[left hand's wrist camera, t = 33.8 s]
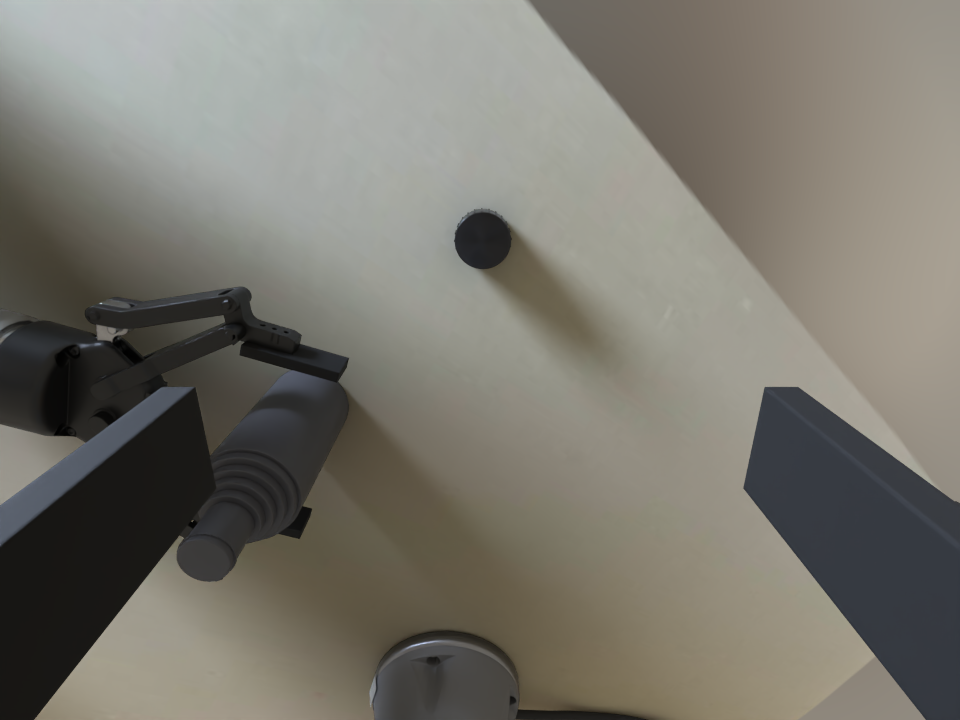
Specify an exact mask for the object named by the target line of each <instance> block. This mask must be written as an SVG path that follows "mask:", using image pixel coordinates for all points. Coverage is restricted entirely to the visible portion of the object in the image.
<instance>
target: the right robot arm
mask: <svg viewBox="0 0 960 720" xmlns="http://www.w3.org/2000/svg"><path fill="white" fill-rule="evenodd" d="M251 298H252V296H251V293H250V291H249V290H248V289H247V288H245V287H235V288H228V289H222V290H215V291H209V292H203V293H196V294H190V295H183V296H177V297H170V298H164V299H158V300H151V301H145V302H141V301H136V300H131V299H125V298H120V297H113V298H111V299H109V300H106V301H103V302H101V303H98V304H96V305H94V306H91V307H89V308H87V309H86V310H85V316H86V319H87V320H88V321H89V322H90V323H92V324H95V325H96V330H97V335H95V334H93V333H90V332H86V331H83V330H79V329H75V328H72V327H68V326H65V325H61V324H58V323H54V322H50V321H40V320H38V319H37V318H34V317H31V316H27V315H24V314H20V313H17V312H13V311H10V310H6V309H2V308H0V424H2V425H6V426H10V427H14V428H18V429H21V430H25V431H29V432H33V433H37V434H41V435H45V436H74V437H77V438H79V439H81V440H83V441H84V442H88V441H89V440H90V439H92V438H93V437H94V436H96V435H97V434H99V433H100V432H101V431H103V430H104V429H105V428H107V427H108V426H109V425H111V424H112V423H114V422H115V421H116V420H118V419H119V418H120V417H122V416H123V415H124V414H126V413H127V412H129V411H130V410H131V409H133V408H134V407H135V406H137V405H138V404H140V403H141V402H142V401H144V400H145V399H146V398H148V397H149V396H150V395H152V394H153V393H155V392H156V391H157V390H159V389H160V388H161V387H167V383H168V382H165V381H164V380H163V378H162V376H161V374H162V373H164V372H167V371H169V370H172V369H174V368H176V367H179V366H181V365H183V364H186V363H188V362H191V361H193V360H195V359H198V358H200V357H202V356H205V355H207V354H210V353H212V352H214V351H217V350H219V349H221V348H224V347H226V346H229V345H231V344H233V345H234V344H236V343H237V342H238V341H244V343H243V344H242V345H241V350H240V355H241V356H244V357H248V358H251V359H255V360H258V361H262V362H265V363H269V364H272V365H276V366H280V367H283V368H287V369H290V370H294V371H297V372H301V373H304V374H308V375H311V376H315V377H318V378H322V379H325V380H329V381H332V382H336V383H337V382H338V380H339V379H340V377H341V376H342V374H343V372H344V371H345V369H346V368H347V364H348V360H349V358H347V357H343V356H340V355H336V354H333V353H329V352H326V351H323V350H319V349H316V348H312V347H309V346H305V345H302V344H300V341H301V336H302V335H301V334H299V333H298V332H296V331H295V330H292V329H288V328H285V327H281V326H278V325H275V324H271V323H268V322H264V321H261V320H259V319H257V318H256V317H255V316H254V315H253V314H252V311H251V307H250V301H251ZM219 315H224V318H225V323H223V324H220V325H218V326H216V327H213V328H211V329H209V330H206V331H204V332H202V333H199V334H197V335H195V336H192V337H190V338H188V339H185V340H183V341H181V342H178V343H176V344H174V345H171V346H167V347H165V348H162V349H160V350H158V351H155V352H153V353H151V354H148V355H146V356H144V357H143V356H142V355H141V354H140V353H139V352H138V351H137V350H136V349H135V348H133V347H132V346H131V345H130V344H129V343H128V342H127V341H126V340H125V339H123V338H121V335H124V334H126V333H128V332H130V331H132V330H134V329H135V328H141V327H148V326H154V325H161V324H167V323H174V322H180V321H187V320H193V319H200V318H206V317H213V316H219ZM311 511H312V509H311V508H307V507H303V506H302V508H301V510H300V512H299V514H298V516H297V517H296V519H295V520H294V521H293V522H292V523H291V524H290V525H289V526H288V527H287V528H285V529H284V530H283V531H281V532H280V533H278V534H282V535H286V536H290V537H294V538H298V539H300V537H301V535H302V533H303V531H304V528H305V526H306V524H307V522H308V520H309V518H310V515H311ZM192 520H194V521H193V522H191V521H190V523H189V524H188V525H187V526H186V528H185V529H184V530H183V531H182V533H181V534H180V536H182V537H183V538H186V537H188V535H189V534H190V533H191V531H192V530H193V529H194V528H195V526H196V525H197V524H198V522H199V521H200V517H199V514H198V512H197V514H196V515H195V516H194V518H193V519H192Z"/></svg>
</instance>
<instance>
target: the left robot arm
mask: <svg viewBox="0 0 960 720" xmlns="http://www.w3.org/2000/svg"><path fill="white" fill-rule="evenodd" d="M215 490H216V483H215V478H214V474H213V469H212V464H211V460H210V455H209V450H208V445H207V441H206V436H205V431H204V426H203V422H202V417H201V412H200V407H199V403H198V398H197V393H196V388H195V387H161V388H160V389H159V390H157V391H156V392H155V393H153V394H152V395H150V396H149V397H148V398H146V399H145V400H144V401H142V402H141V403H140V404H138V405H137V406H135V407H134V408H133V409H131V410H130V411H129V412H127V413H126V414H124V415H123V416H122V417H120V418H119V419H118V420H116V421H115V422H114V423H112V424H111V425H109V426H108V427H107V428H105V429H104V430H103V431H101V432H100V433H99V434H97V435H96V436H94V437H93V438H92V439H90V440H89V441H88V442H86V443H85V444H84V445H82V446H81V447H79V448H78V449H77V450H75V451H74V452H73V453H71V454H70V455H68V456H67V457H66V458H64V459H63V460H62V461H60V462H59V463H58V464H56V465H55V466H53V467H52V468H51V469H49V470H48V471H47V472H45V473H44V474H43V475H41V476H40V477H38V478H37V479H36V480H34V481H33V482H32V483H30V484H29V485H27V486H26V487H25V488H23V489H22V490H21V491H19V492H18V493H17V494H15V495H14V496H12V497H11V498H10V499H8V500H7V501H6V502H4V503H3V504H2V505H0V720H34V719H35V718H36V717H37V715H38V714H39V713H40V711H41V710H42V709H43V708H44V706H45V705H46V704H47V703H48V701H49V700H50V699H51V698H52V696H53V695H54V694H55V692H56V691H57V690H58V689H59V687H60V686H61V685H62V684H63V682H64V681H65V680H66V679H67V677H68V676H69V675H70V673H71V672H72V671H73V670H74V668H75V667H76V666H77V665H78V663H79V662H80V661H81V660H82V658H83V657H84V656H85V654H86V653H87V652H88V651H89V649H90V648H91V647H92V646H93V644H94V643H95V642H96V640H97V639H98V638H99V637H100V635H101V634H102V633H103V632H104V630H105V629H106V628H107V627H108V625H109V624H110V623H111V621H112V620H113V619H114V618H115V616H116V615H117V614H118V613H119V611H120V610H121V609H122V608H123V606H124V605H125V604H126V602H127V601H128V600H129V599H130V597H131V596H132V595H133V594H134V592H135V591H136V590H137V589H138V587H139V586H140V585H141V583H142V582H143V581H144V580H145V578H146V577H147V576H148V575H149V573H150V572H151V571H152V569H153V568H154V567H155V566H156V564H157V563H158V562H159V561H160V559H161V558H162V557H163V556H164V554H165V553H166V552H167V550H168V549H169V548H170V547H171V545H172V544H173V543H174V542H175V540H176V539H177V538H178V537H179V535H180V534H181V533H182V531H183V530H184V529H185V528H186V526H187V525H188V524H189V523H190V521H191V520H192V519H193V518H194V516H195V515H196V514H197V512H198V511H199V510H200V509H201V507H202V506H203V505H204V504H205V502H206V501H207V500H208V498H209V497H210V496H211V495H212V493H213V492H214V491H215ZM744 490H745V491H746V492H747V493H748V495H749V496H750V497H751V498H752V500H753V501H754V502H755V504H756V505H757V506H758V507H759V509H760V510H761V511H762V512H763V514H764V515H765V516H766V518H767V519H768V520H769V521H770V523H771V524H772V525H773V526H774V528H775V529H776V530H777V531H778V533H779V534H780V535H781V537H782V538H783V539H784V540H785V542H786V543H787V544H788V545H789V547H790V548H791V549H792V550H793V552H794V553H795V554H796V556H797V557H798V558H799V559H800V561H801V562H802V563H803V564H804V566H805V567H806V568H807V569H808V571H809V572H810V573H811V575H812V576H813V577H814V578H815V580H816V581H817V582H818V583H819V585H820V586H821V587H822V589H823V590H824V591H825V592H826V594H827V595H828V596H829V597H830V599H831V600H832V601H833V602H834V604H835V605H836V606H837V608H838V609H839V610H840V611H841V613H842V614H843V615H844V616H845V618H846V619H847V620H848V621H849V623H850V624H851V625H852V627H853V628H854V629H855V630H856V632H857V633H858V634H859V635H860V637H861V638H862V639H863V640H864V642H865V643H866V644H867V646H868V647H869V648H870V649H871V651H872V652H873V653H874V654H875V656H876V657H877V658H878V660H879V661H880V662H881V663H882V665H883V666H884V667H885V668H886V670H887V671H888V672H889V673H890V675H891V676H892V677H893V678H894V680H895V681H896V682H897V684H898V685H899V686H900V687H901V689H902V690H903V691H904V692H905V694H906V695H907V696H908V697H909V699H910V700H911V701H912V703H913V704H914V705H915V706H916V708H917V709H918V710H919V711H920V713H921V714H922V715H923V717H924V718H925V719H926V720H960V503H958V502H956V501H953V500H952V499H950V498H949V497H948V496H946V495H945V494H943V493H942V492H941V491H939V490H938V489H937V488H935V487H934V486H932V485H931V484H930V483H928V482H927V481H926V480H924V479H923V478H922V477H920V476H919V475H917V474H916V473H915V472H913V471H912V470H911V469H909V468H908V467H907V466H905V465H904V464H902V463H901V462H900V461H898V460H897V459H896V458H894V457H893V456H892V455H890V454H889V453H887V452H886V451H885V450H883V449H882V448H881V447H879V446H878V445H876V444H875V443H874V442H872V441H871V440H870V439H868V438H867V437H866V436H864V435H863V434H861V433H860V432H859V431H857V430H856V429H855V428H853V427H852V426H851V425H849V424H848V423H846V422H845V421H844V420H842V419H841V418H840V417H838V416H837V415H836V414H834V413H833V412H831V411H830V410H829V409H827V408H826V407H825V406H823V405H822V404H820V403H819V402H818V401H816V400H815V399H814V398H812V397H811V396H810V395H808V394H807V393H805V392H804V391H803V390H801V389H800V388H799V387H765V388H764V393H763V398H762V403H761V407H760V412H759V417H758V422H757V426H756V431H755V436H754V441H753V445H752V450H751V455H750V459H749V464H748V469H747V474H746V478H745V483H744ZM372 703H373V710H374V716H375V720H515V719H518V720H647V719H642V718H638V717H632V716H626V715H618V714H608V713H596V712H583V711H542V710H518V705H519V684H518V676H517V672H516V669H515V667H514V665H513V663H512V662H511V660H510V659H509V658H508V657H507V655H506V654H505V653H504V652H502V651H501V650H500V649H499V648H498V647H496V646H495V645H493V644H491V643H490V642H488V641H486V640H484V639H481V638H479V637H476V636H473V635H469V634H464V633H458V632H431V633H425V634H421V635H417V636H414V637H411V638H409V639H406V640H404V641H402V642H400V643H399V644H397V645H396V646H394V647H393V648H392V649H391V650H389V651H388V652H387V653H386V655H385V656H384V657H383V658H382V660H381V661H380V663H379V665H378V667H377V670H376V674H375V676H374V679H373V683H372V686H371V689H370V707H371V704H372Z"/></svg>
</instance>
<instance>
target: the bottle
mask: <svg viewBox="0 0 960 720" xmlns="http://www.w3.org/2000/svg"><path fill="white" fill-rule="evenodd" d="M348 408H349V405H348V399H347V396H346V393H345V391H344V390H343V388H342V387H341V385H340V384H339V383H338V382H337V383H336V382H332V381H329V380H325V379H322V378H318V377H315V376H311V375H308V374H304V373H301V372H297V371H294V370H291V371H289V372H287V373H285V374H284V375H282V376H281V377H280V378H279V379H278V380H277V381H276V382H275V383H274V384H273V386H272V387H271V388H270V389H269V390H268V391H267V392H266V394H265V395H264V396H263V397H262V398H261V399H260V400H259V401H258V403H257V404H256V405H255V406H254V407H253V408H252V409H251V410H250V412H249V413H248V414H247V415H246V416H245V417H244V418H243V420H242V421H241V422H240V423H239V424H238V425H237V426H236V427H235V429H234V430H233V431H232V432H231V433H230V434H229V435H228V436H227V438H226V439H225V440H224V441H223V442H222V443H221V444H220V446H219V447H218V448H217V449H216V450H215V451H214V452H213V453H212V455H211V456H210V460H211V464H212V469H213V474H214V478H215V483H216V490H215V491H214V492H213V493H212V495H211V496H210V497H209V498H208V500H207V501H206V502H205V504H204V505H203V506H202V507H201V509H200V510H199V511H198V514H199V517H200V521H199V522H198V524H197V525H196V526H195V528H194V529H193V530H192V531H191V533H190V534H189V535H188V537H186V538H185V539H183V541H182V542H181V543H180V545H179V547H178V550H177V561H178V564H179V566H180V568H181V569H182V570H183V571H184V572H185V573H186V574H187V575H189V576H190V577H192V578H194V579H197V580H201V581H208V582H211V581H219V580H222V579H223V577H225V576H226V575H227V574H228V573H229V571H231V570H232V569H233V567H234V566H235V564H236V561H237V558H238V556H239V554H240V553H241V551H242V549H243V548H244V546H245V544H247V543H251V542H255V541H259V540H263V539H266V538H270V537H272V536H275V535H276V534H278V533H280V532H281V531H283V530H284V529H285V528H287V527H288V526H289V525H290V524H291V523H292V522H293V521H294V520H295V519H296V517H297V516H298V514H299V512H300V510H301V508H302V506H303V504H304V502H305V500H306V498H307V496H308V494H309V492H310V490H311V488H312V486H313V484H314V482H315V480H316V478H317V476H318V474H319V472H320V470H321V468H322V466H323V464H324V462H325V460H326V458H327V456H328V454H329V452H330V450H331V448H332V446H333V444H334V442H335V440H336V438H337V436H338V434H339V432H340V430H341V428H342V426H343V424H344V422H345V420H346V418H347V415H348Z"/></svg>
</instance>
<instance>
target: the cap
mask: <svg viewBox="0 0 960 720" xmlns="http://www.w3.org/2000/svg"><path fill="white" fill-rule="evenodd" d="M507 225H508V224H507V222H506V221H505V220H504V219H503V217H502V215H501V216H500V215H499V214H498V213H497V212H496V211H495V212H494V211H492V210H490V209H482V208H481V209H477V210H475V209H474V211H471V212H470V213H469V212H468V213H467V215H465V216H464V217H462V220H461V221H460V223H458V226H457V227H458V228H457V230H456V231H455V240H454V242H455V247H456V250H457V253H458V255H459V256H460V258H461V259H462V260H463V261H464V262H465V263H466V264H468V265H469V266H472V267H474V268H478V269H488V268H492V267H494V266H496V265H498V264H499V263H501V262H502V261H503V260H504V259H505V257H506V256H507V254H508V252H509V249H510V247H511V240H512V239H511V235H510V229H509V228H508V226H507Z"/></svg>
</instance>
